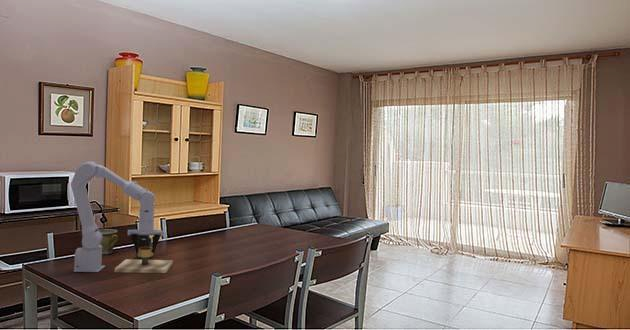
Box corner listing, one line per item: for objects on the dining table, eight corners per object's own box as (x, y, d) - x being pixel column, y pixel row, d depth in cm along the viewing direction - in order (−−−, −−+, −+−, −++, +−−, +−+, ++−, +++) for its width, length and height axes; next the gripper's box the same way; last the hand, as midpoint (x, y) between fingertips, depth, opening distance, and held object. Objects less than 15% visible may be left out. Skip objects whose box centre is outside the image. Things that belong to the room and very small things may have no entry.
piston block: (114, 272, 177) (115, 257, 177) (125, 262, 191) (125, 249, 191) (165, 273, 179) (166, 258, 179) (172, 263, 193) (173, 250, 193)
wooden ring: (135, 257, 182) (136, 250, 181) (140, 253, 188) (140, 246, 187) (151, 257, 182) (151, 250, 182) (154, 253, 188) (154, 246, 188)
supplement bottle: (133, 259, 197) (134, 233, 196) (137, 255, 203) (137, 230, 203) (149, 259, 198) (150, 233, 197) (152, 255, 204) (153, 230, 204)
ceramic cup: (88, 252, 204) (89, 231, 203) (106, 248, 213) (107, 228, 212) (107, 257, 198) (108, 235, 198) (126, 252, 207) (126, 231, 207)
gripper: (125, 221, 179) (124, 254, 180) (162, 222, 181) (161, 254, 182) (130, 218, 186) (129, 250, 187) (166, 219, 188) (164, 250, 189)
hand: (145, 252), depth 185 cm, fingers closed on wooden ring, 6 cm apart
